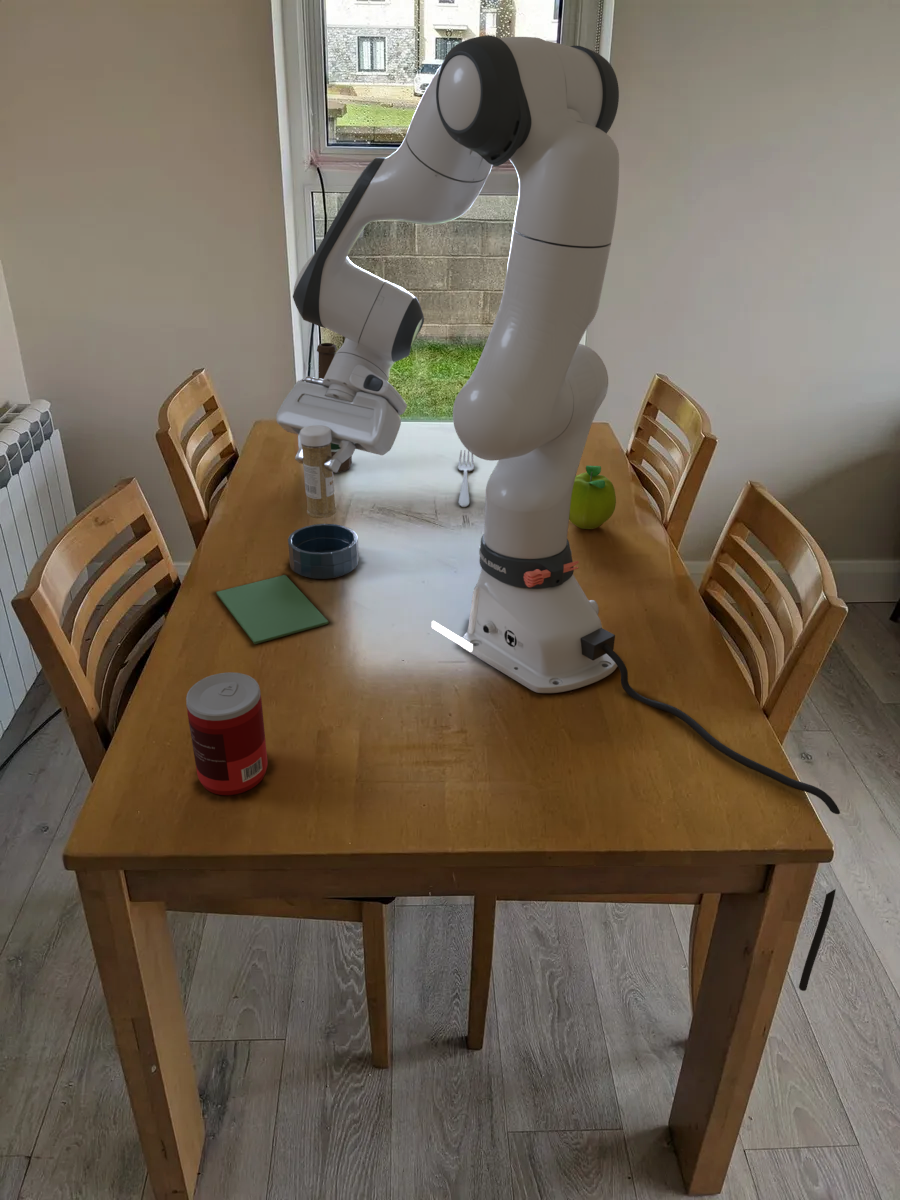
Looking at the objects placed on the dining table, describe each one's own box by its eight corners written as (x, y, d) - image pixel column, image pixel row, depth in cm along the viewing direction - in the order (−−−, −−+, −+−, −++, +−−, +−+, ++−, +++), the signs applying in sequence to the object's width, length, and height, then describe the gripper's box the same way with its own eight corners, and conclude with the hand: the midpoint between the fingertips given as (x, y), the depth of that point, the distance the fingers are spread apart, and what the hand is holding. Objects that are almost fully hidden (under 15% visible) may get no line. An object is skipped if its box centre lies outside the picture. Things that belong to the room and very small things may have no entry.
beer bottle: (309, 461, 184) (302, 340, 172) (348, 457, 186) (343, 338, 175) (316, 475, 178) (309, 351, 166) (356, 471, 180) (351, 348, 168)
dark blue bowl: (370, 570, 145) (369, 544, 143) (306, 586, 140) (304, 560, 138) (340, 543, 153) (339, 518, 151) (279, 557, 148) (277, 532, 146)
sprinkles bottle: (341, 515, 141) (336, 430, 134) (314, 521, 139) (308, 436, 132) (328, 504, 144) (322, 422, 138) (301, 511, 142) (294, 427, 136)
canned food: (272, 750, 106) (264, 671, 101) (263, 797, 100) (253, 715, 94) (205, 750, 106) (194, 671, 101) (191, 798, 99) (178, 715, 94)
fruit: (611, 515, 164) (617, 462, 159) (614, 538, 156) (620, 483, 151) (559, 512, 165) (563, 460, 160) (559, 535, 157) (564, 480, 152)
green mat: (328, 623, 131) (328, 621, 131) (254, 644, 126) (254, 642, 126) (285, 576, 143) (285, 574, 142) (216, 594, 138) (216, 591, 137)
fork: (454, 506, 166) (455, 497, 165) (458, 457, 187) (458, 449, 186) (472, 507, 166) (472, 498, 165) (474, 458, 187) (474, 450, 186)
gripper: (290, 363, 142) (252, 442, 139) (398, 385, 132) (358, 470, 130) (311, 385, 147) (274, 461, 145) (416, 407, 138) (379, 490, 135)
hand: (315, 466), depth 137 cm, fingers closed on sprinkles bottle, 4 cm apart
